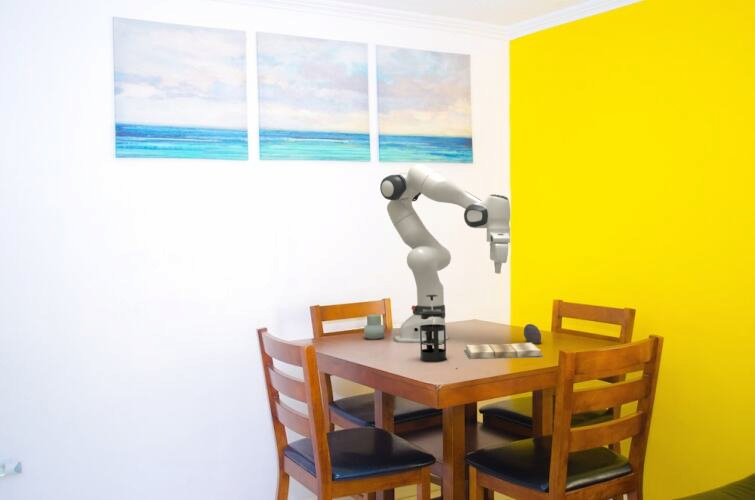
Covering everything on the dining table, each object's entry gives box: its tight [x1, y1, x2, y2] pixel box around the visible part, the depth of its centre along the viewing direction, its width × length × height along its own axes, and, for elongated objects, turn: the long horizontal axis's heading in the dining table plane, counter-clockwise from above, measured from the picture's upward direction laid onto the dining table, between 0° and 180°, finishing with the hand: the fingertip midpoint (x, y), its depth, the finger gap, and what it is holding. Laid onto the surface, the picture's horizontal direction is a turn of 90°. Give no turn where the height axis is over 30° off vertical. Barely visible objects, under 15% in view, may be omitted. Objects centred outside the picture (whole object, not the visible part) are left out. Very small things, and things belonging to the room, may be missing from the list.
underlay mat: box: [463, 349, 544, 360], centre depth 251 cm, size 26×18×1 cm
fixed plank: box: [488, 343, 517, 359], centre depth 251 cm, size 7×16×2 cm, turn 179°
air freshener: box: [363, 313, 385, 340], centre depth 299 cm, size 11×8×10 cm
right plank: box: [509, 342, 542, 357], centre depth 251 cm, size 8×16×2 cm, turn 179°
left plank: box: [465, 344, 494, 358], centre depth 252 cm, size 8×16×2 cm, turn 179°
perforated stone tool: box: [523, 323, 542, 345], centre depth 275 cm, size 15×5×7 cm, turn 179°
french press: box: [419, 295, 448, 363], centre depth 248 cm, size 12×9×23 cm
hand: (497, 273), depth 269 cm, fingers closed
